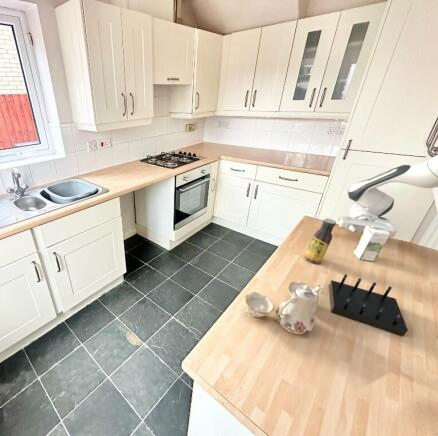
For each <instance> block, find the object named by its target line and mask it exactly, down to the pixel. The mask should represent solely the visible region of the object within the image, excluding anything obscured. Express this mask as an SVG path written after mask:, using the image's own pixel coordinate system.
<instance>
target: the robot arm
mask: <svg viewBox="0 0 438 436" xmlns="http://www.w3.org/2000/svg"><path fill="white" fill-rule="evenodd" d="M390 183H401V184H406V185H410V186H413V187H416V188H417V187H418V188H422V189H434V188H438V154H437V155H435V156H433V157H430V158H429V159H427V160H425V161H423V162H419V163H414V164H402V165H399V166H396V167H394V168H392V169H388V170H386V171H384V172H382V173H379V174H377V175H375V176H373V177H370V178H368V179H364V180H362V181H358V182H356V183H354V184H353V185H352V186H350V187H349V189H348V191H347V195H348V198H349V199H350V200H352V201H353V202H355V203H353V204H352V205H351V206H350V208H349V212H348V214H349V216H347V215H342V216H338V217H337V220H338V221H339V222H338V227H339V228H342V229H346V230H350V231H351V232H352V233H354V234H358V232H361V233H363V232H364V230H365V228H366V226H377V227H383V228H385V229H386V230H387V231H388V232H389V234H390V235H389V237H388V238H394V237H395V236H396V234H397V228H396V227H395V226H394V224H393V223H392V222H391V221H390V219H389V218H386V217H383V216H384V215H386V214H388V213H389V212H391V210H392V209H393V208H394V204H395V199H394V197H392V196H391V195H389V194H387V193H386V192H384V191H382V190H381V189H379V187H382V186H385V185H387V184H390Z"/></svg>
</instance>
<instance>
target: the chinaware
mask: <svg viewBox="0 0 438 436" xmlns="http://www.w3.org/2000/svg"><path fill="white" fill-rule="evenodd" d="M287 289H288V292H289V295H290V298H288V299H287V300H286V301H282V302H281V303H280V304H279V305H278V308H277V309H276V310H275V307H274V305H273V303H272V300H271V299H270V297H268V296H267V295H262V294H261V293H259V292H256V291H254V292H251V293H249V294H246V295H245V296H244V300H245V301H244V302H245V304H246V309H245V311H244V314H243V315H244V316H245V317H248V316H250V317H253V318H259V319H261V318H263V317H265V316H267V315H268V314H269V313H272V311H274V310H275V311H274V312H275V315H276V316H277V321H278V324H279V325H280V327H281V328H282V329H284V330H285V331H286V332H288V333H290V334H293V335H295V336H296V335H297V336H303V335H305V334H308V333H311V332H312V331H313V328H314V326H315V325H316V319H315V317H314V313H315V312H316V311H317V308H318V305H319V304H318V303H319V298H320V297H319V294H320V291H321V290H322V289H323V286H322V285H317V286H316V287H315V288H311V286H309V285H308V284H307V283H305V282H298V283H297V281H296V282H295V281H291V282H290V283H289V285H288V288H287ZM247 312H249V313H247Z"/></svg>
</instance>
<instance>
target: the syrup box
mask: <svg viewBox="0 0 438 436" xmlns="http://www.w3.org/2000/svg"><path fill="white" fill-rule="evenodd" d="M389 235H390V234H389V232H388V231H387V230H386V229H385V228H383V227H377V226H366V228H365V230H364V232H362V234H361V236H360V238H359V240H358V242H357V244H356V246H355V248H354V250H353V254H354V255H355V256H356V258H357V259H358V260H359V261H367V262H374V263H375V262H376V260H377V258H378V256H379V254H380V253H381V251H382V249H383V247H384V246H385V244H386V243H387V240H388V239H389V238H390V237H389Z"/></svg>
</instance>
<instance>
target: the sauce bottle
mask: <svg viewBox="0 0 438 436" xmlns="http://www.w3.org/2000/svg"><path fill="white" fill-rule="evenodd" d="M336 224H337V221H336V220H334V219H332V218H324V219H323V221H322V224H321V227H320V228H319V229H318V230H317V231H316V232H315V233H314V234H313V236H312V238H311V240H310V242H309V245H308V247H307V249H306V252H305V256H304V258H305V260H306V261H307V262H309V263H312V264H320V263H321V262H322V261H323V259H324V258H325V255H326V253H327V251H328V249H329V247H330V245H331V242H332V240H333V233H332V232H333V229H334V227H335V226H336Z"/></svg>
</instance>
